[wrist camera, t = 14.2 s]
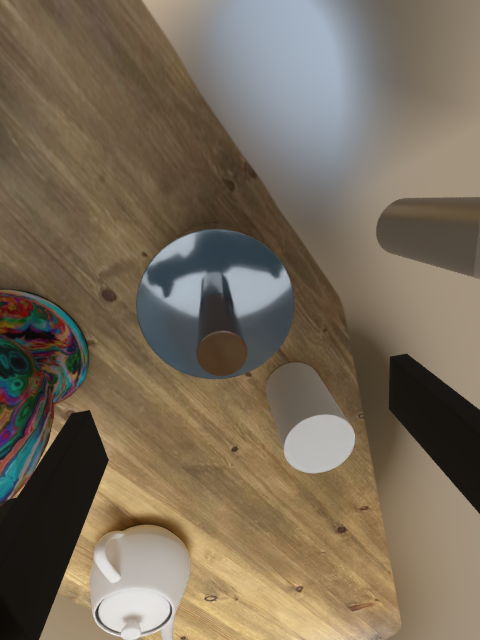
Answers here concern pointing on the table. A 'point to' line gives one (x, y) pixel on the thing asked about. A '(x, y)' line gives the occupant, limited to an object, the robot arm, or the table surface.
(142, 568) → the teapot
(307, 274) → the table surface
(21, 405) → the vase
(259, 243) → the canister lid
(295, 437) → the white cylinder
